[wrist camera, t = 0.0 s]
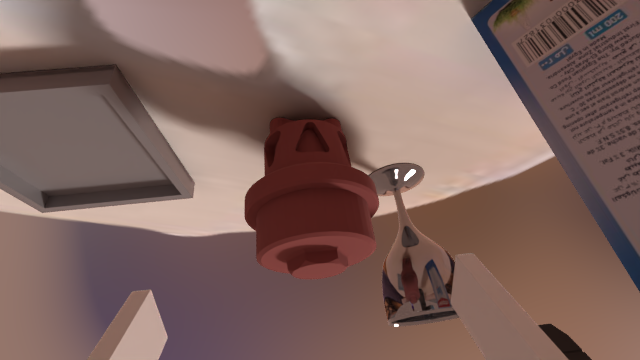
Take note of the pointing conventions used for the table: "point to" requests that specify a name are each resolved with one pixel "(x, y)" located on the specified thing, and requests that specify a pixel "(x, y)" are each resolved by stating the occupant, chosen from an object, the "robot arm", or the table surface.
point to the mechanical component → (310, 202)
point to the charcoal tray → (83, 142)
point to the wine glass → (413, 260)
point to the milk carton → (580, 98)
